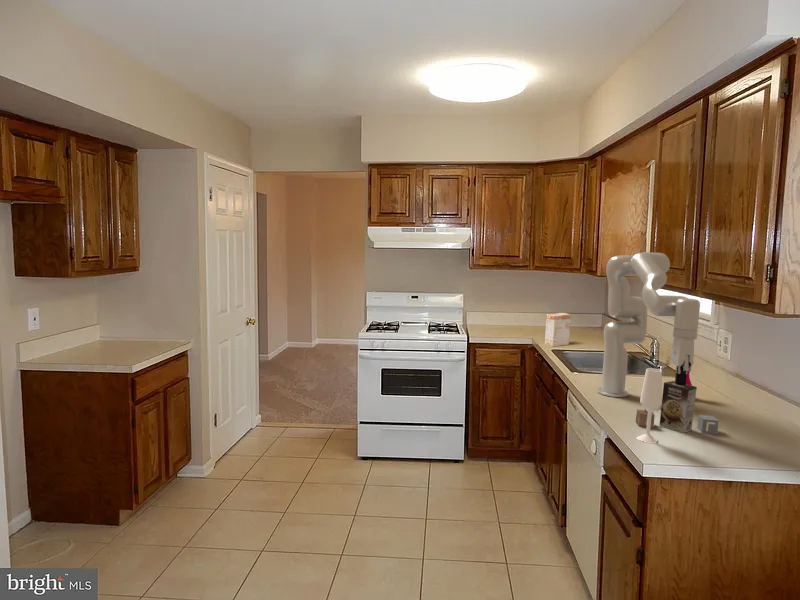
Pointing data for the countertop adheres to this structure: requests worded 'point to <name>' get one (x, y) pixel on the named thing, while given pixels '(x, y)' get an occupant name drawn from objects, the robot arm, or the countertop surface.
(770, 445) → the countertop surface
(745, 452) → the countertop surface
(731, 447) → the countertop surface
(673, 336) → the robot arm
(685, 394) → the coffee box
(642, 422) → the walnut block one
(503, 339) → the countertop surface
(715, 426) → the slate block seven
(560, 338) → the coffeecake box
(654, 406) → the champagne flute
